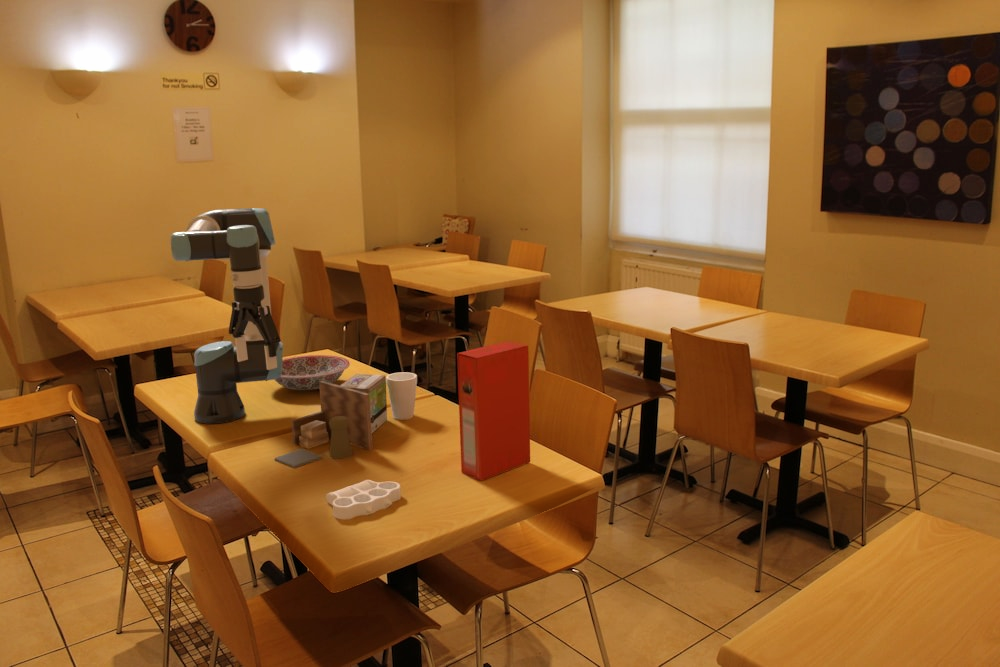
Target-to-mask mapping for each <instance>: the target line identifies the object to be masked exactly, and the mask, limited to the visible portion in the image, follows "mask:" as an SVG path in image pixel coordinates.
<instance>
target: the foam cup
mask: <svg viewBox="0 0 1000 667" xmlns="http://www.w3.org/2000/svg"><path fill="white" fill-rule="evenodd" d="M417 384H418V375H417V374H416V373H413V372H408V371H406V372H403V371H402V372H394V373H390V374H388V375H386V388H387V390H388V398H389V401H390V408H391V413H392V417H393V419H395V420H398V421H399V420H400V421H404V420H405V421H406V420H410V419H412V418H414V416H415V415H414V414H415V406H416V392H417Z"/></svg>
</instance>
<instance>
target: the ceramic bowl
mask: <svg viewBox="0 0 1000 667" xmlns="http://www.w3.org/2000/svg"><path fill="white" fill-rule="evenodd" d="M350 366H351V362H350V361H349V359H347V358H344V357H341V356H338V355H329V354H328V355H327V354H326V355H325V354H315V355H314V354H309V355H299V356H293V357H286V358H282V374H281V376H280V378H278V379H274V381H275V382H276V383H277V384H279V385H280V386H282V387H284V388H286V389H290V390H292V391H293V390H294V391H313V390H320V388H319V382H320V381H325V382H328V383H332V384H335V382H337V381H338V380H339V379H340V378H341V377H342V376H343V373H344V371H346V369H349V367H350Z"/></svg>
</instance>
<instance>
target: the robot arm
mask: <svg viewBox="0 0 1000 667" xmlns="http://www.w3.org/2000/svg"><path fill="white" fill-rule="evenodd" d="M274 245H276V240H275V236H274V231H273V225H272V221H271V218H270V212H269V211H268V210H267V209H265V208H258V207H248V208H227V209H213V210H208V211H206V212H204V213H201V214H198V215H196V216H195V217H193V218H191V220H190V221H189V223H188V224H187V228H186V231H180V232H173V233H172V234H171V236H170V250H171V256H172V258H173V260H174V261H176V262H181V261H182V262H191V261H202V260H203V261H205V260H225V259H226V260H227V259H228V260H229V263H230V271H231V275H230V276H231V280H232V285H233V286H234V287H233V290H232V292H233V297H234V299H233V300H234V301H232V302H231V314H230V320H229V327H228V334H229V335H232V337H233V338H234V344H233V342H232V341H230V340H229V341H228V340H227V341H226V340H221V341H216V342H211V343H207V344H204V345H202V346H200V347H198V348H197V349H196V350H195V351H194V353H193V354H194V355H193V356H194V363H193V365H194V367H195V375H196V376H195V377H196V385H197V398H196V403H195V407H194V412H193V415H194V416H193V417H194V420H195V421H196V422H197V423H199V424H212V425H213V424H224V423H228V422H229V423H230V422H233V421H235V420H236V421H237V420H238V419H241V418H242V417H244V416H245V414H246V412H245V411H246V410H245V409H246V408H245V405H244V403H243V400H242V398H241V396H240V394H239V391H238V387H237V384H240V383H252V382H263V381H265V382H268V381H271V380H272V381H273V380H274V379H278V378H280V376H281V374H282V359H284V357H283V354H284V343H283V342H281V338H280V334H279V333H278V330H277V327H276V325H275V322H274V320H273V316H272V306H271V295H270V293H271V292H270V283H269V269H268V259H267V258H268V256H269V254H270V253H271V252H272V246H274ZM274 381H275V380H274Z"/></svg>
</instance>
